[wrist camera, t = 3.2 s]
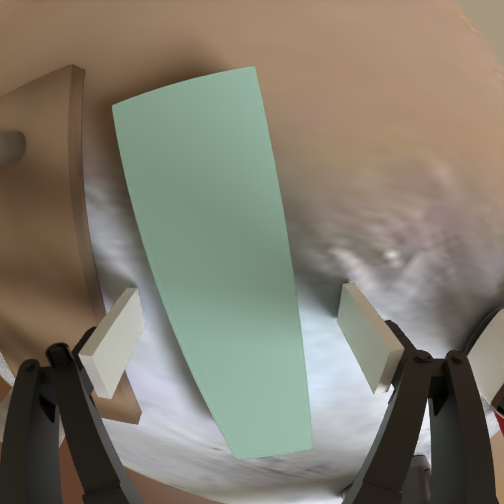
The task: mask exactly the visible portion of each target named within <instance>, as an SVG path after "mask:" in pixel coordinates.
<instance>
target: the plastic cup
mask: <svg viewBox="0 0 504 504" xmlns="http://www.w3.org/2000/svg"><path fill="white" fill-rule="evenodd" d="M494 413H495V416H496V418H497V421H498V423H499V427H500V429H501V431H502V433H503V436H504V418H502V417H501V416H500V415H499V414H498V413H497V412H496V411H495V410H494Z"/></svg>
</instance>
